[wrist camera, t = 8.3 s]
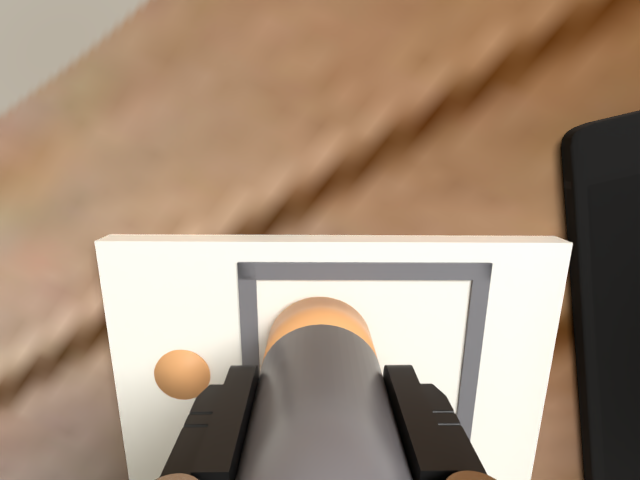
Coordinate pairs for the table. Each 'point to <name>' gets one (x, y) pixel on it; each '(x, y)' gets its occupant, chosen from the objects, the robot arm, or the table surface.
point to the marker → (321, 402)
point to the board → (357, 291)
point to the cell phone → (606, 289)
